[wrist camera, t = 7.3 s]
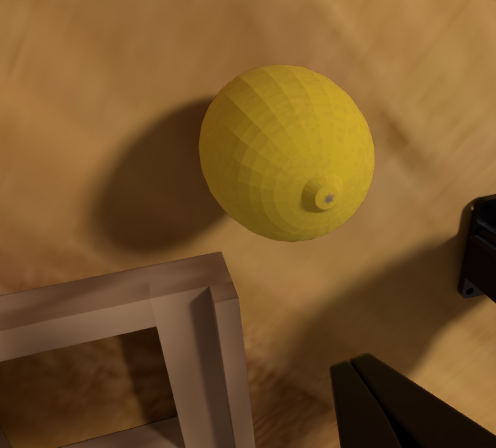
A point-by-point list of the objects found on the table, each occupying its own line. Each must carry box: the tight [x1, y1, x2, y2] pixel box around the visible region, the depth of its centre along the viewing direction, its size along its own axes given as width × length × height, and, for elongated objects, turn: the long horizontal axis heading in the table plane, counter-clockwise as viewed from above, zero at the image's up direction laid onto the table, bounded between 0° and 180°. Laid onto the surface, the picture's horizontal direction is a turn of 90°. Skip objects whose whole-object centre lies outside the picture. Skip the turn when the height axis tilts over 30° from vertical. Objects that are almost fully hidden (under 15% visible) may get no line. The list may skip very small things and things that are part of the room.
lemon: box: [199, 64, 375, 242], centre depth 15 cm, size 6×6×8 cm
